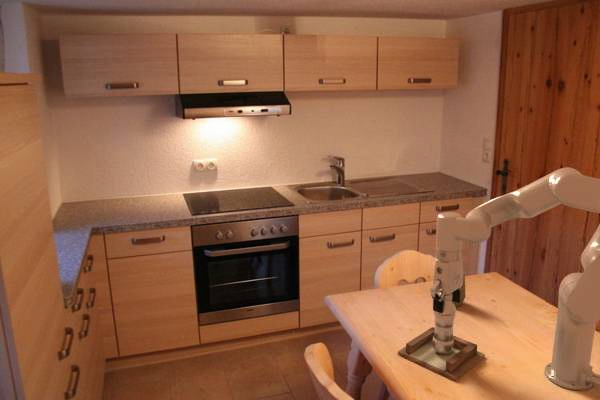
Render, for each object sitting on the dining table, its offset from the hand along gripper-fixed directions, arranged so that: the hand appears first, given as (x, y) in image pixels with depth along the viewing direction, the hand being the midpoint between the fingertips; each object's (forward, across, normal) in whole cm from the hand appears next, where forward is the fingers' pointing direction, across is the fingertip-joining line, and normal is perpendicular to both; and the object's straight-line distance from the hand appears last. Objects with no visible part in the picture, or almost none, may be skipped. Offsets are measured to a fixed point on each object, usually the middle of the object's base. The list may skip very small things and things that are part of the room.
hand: (446, 306), depth 151 cm
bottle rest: (+17, -1, +1) cm, 17 cm away
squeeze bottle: (+17, +35, +17) cm, 42 cm away
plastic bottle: (+16, 0, +1) cm, 16 cm away
